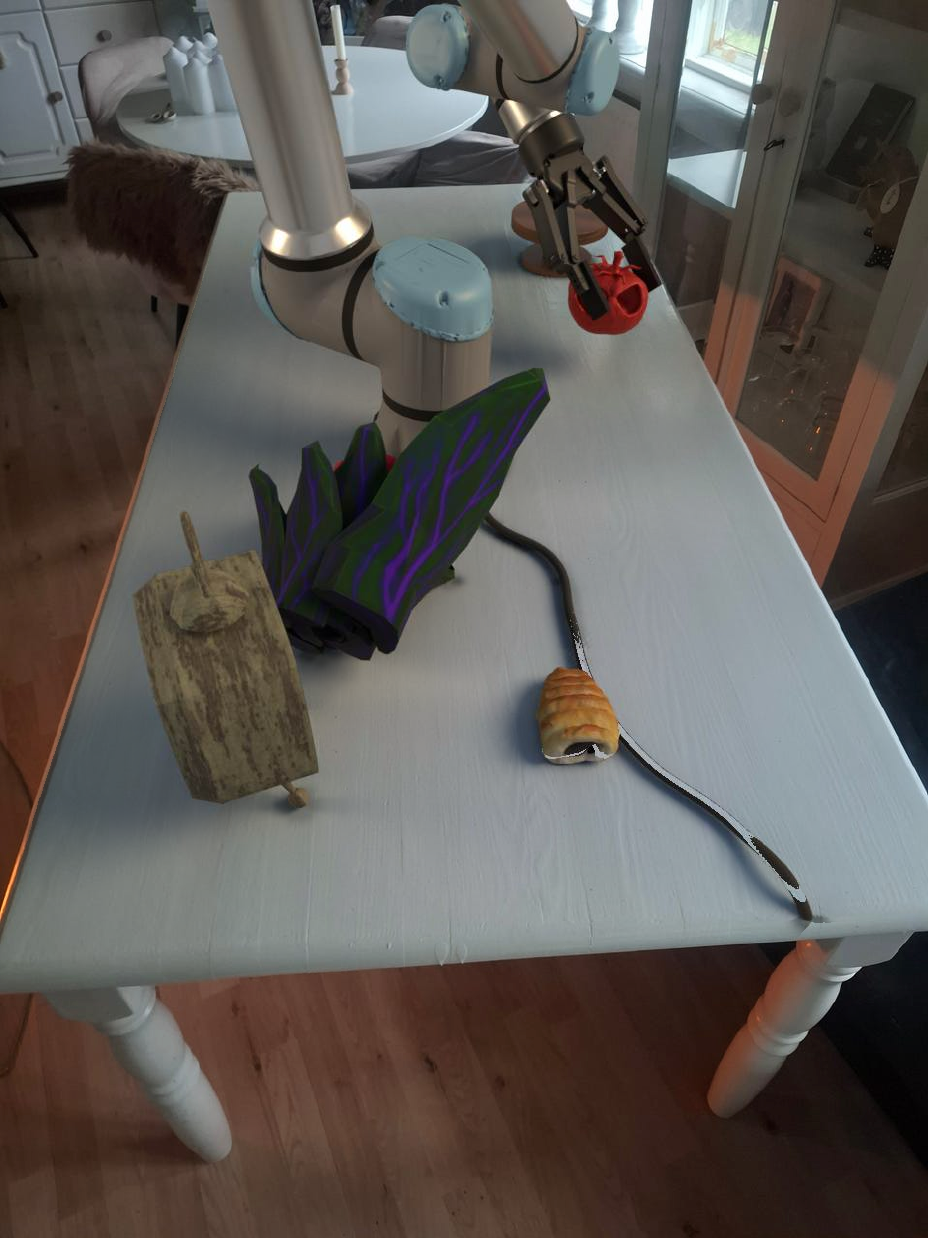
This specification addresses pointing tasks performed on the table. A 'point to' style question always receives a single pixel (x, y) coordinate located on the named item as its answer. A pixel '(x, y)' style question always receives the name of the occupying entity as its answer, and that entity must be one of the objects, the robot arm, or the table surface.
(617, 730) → the pastry
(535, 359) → the table surface
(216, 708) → the brown boxy piece
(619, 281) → the angry red tomato
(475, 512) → the decorative plant
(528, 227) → the stand
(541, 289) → the table surface
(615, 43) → the robot arm
